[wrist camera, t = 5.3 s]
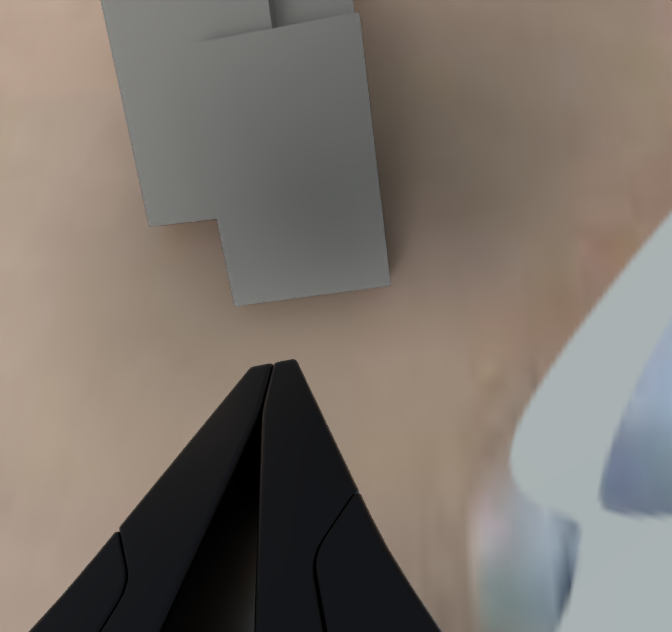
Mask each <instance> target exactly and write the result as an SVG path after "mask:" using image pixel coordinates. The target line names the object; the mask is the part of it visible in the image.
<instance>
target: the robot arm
mask: <svg viewBox="0 0 672 632" xmlns="http://www.w3.org/2000/svg"><path fill="white" fill-rule="evenodd" d="M119 531H120V532H115V533H114V534H113V535H112V537H111V538H110V539H109V540H108V541H107V543H106V544H105V545H104V546H103V547H102V549H101V550H100V551H99V552H98V554H97V555H96V556H95V557H94V558H93V560H92V561H91V562H90V563H89V564H88V565H87V567H86V568H85V569H84V570H83V571H82V572H81V574H80V575H79V576H78V577H77V578H76V579H75V581H74V582H73V583H72V584H71V585H70V587H69V588H68V589H67V590H66V591H65V592H64V594H63V595H62V596H61V597H60V598H59V599H58V600H57V601H56V602H55V604H54V605H53V606H52V607H51V608H50V609H49V610H48V611H47V612H46V613H45V615H44V616H43V617H42V618H41V619H40V620H39V621H38V622H37V623H36V624H35V626H34V627H33V628H32V629H31V630H30V631H29V632H442V631H441V630H440V628H439V627H438V625H437V624H436V622H435V621H434V619H433V618H432V616H431V615H430V613H429V612H428V610H427V609H426V607H425V606H424V604H423V603H422V601H421V600H420V598H419V597H418V595H417V594H416V592H415V591H414V589H413V588H412V586H411V584H410V583H409V581H408V580H407V578H406V576H405V575H404V573H403V572H402V570H401V568H400V567H399V565H398V563H397V562H396V560H395V559H394V557H393V555H392V554H391V552H390V551H389V549H388V547H387V545H386V543H385V541H384V539H383V538H382V536H381V534H380V532H379V530H378V528H377V526H376V524H375V522H374V520H373V519H372V517H371V515H370V513H369V510H368V508H367V506H366V504H365V502H364V500H363V498H362V496H361V494H359V490H358V488H357V486H356V484H355V482H354V480H353V477H352V475H351V473H350V471H349V469H348V467H347V465H346V463H345V461H344V459H343V457H342V454H341V452H340V450H339V448H338V446H337V444H336V442H335V440H334V438H333V436H332V433H331V431H330V429H329V427H328V425H327V423H326V421H325V419H324V417H323V415H322V412H321V410H320V408H319V406H318V404H317V402H316V400H315V398H314V396H313V394H312V392H311V389H310V387H309V385H308V383H307V381H306V379H305V377H304V375H303V373H302V371H301V368H300V366H299V364H298V362H297V361H296V360H295V359H291V360H286V361H281V362H276V363H275V364H274V365H273V364H264V365H259V366H254V367H251V368H250V369H249V370H248V371H247V372H246V374H245V375H244V376H243V377H242V378H241V380H240V381H239V382H238V383H237V385H236V386H235V387H234V388H233V389H232V391H231V392H230V393H229V394H228V396H227V397H226V398H225V399H224V400H223V402H222V403H221V404H220V405H219V406H218V408H217V409H216V410H215V411H214V413H213V414H212V415H211V416H210V417H209V419H208V420H207V421H206V422H205V424H204V425H203V426H202V427H201V428H200V430H199V431H198V432H197V433H196V434H195V436H194V437H193V438H192V439H191V441H190V442H189V443H188V444H187V445H186V447H185V448H184V449H183V450H182V452H181V453H180V454H179V455H178V456H177V458H176V459H175V460H174V461H173V462H172V464H171V465H170V466H169V467H168V469H167V470H166V471H165V472H164V473H163V475H162V476H161V477H160V478H159V480H158V481H157V482H156V483H155V484H154V486H153V487H152V488H151V489H150V491H149V492H148V493H147V494H146V495H145V497H144V498H143V499H142V500H141V501H140V503H139V504H138V505H137V506H136V508H135V509H134V510H133V511H132V512H131V514H130V515H129V516H128V517H127V519H126V520H125V521H124V522H123V523H122V525H121V526H120V528H119Z"/></svg>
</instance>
